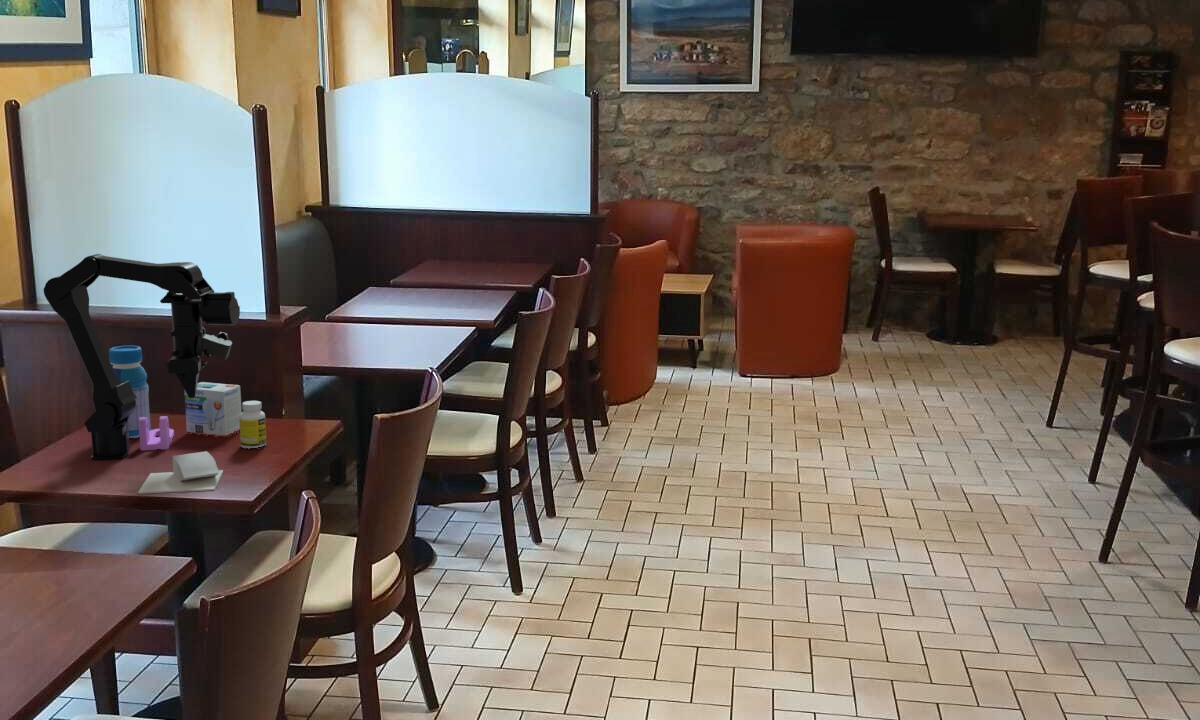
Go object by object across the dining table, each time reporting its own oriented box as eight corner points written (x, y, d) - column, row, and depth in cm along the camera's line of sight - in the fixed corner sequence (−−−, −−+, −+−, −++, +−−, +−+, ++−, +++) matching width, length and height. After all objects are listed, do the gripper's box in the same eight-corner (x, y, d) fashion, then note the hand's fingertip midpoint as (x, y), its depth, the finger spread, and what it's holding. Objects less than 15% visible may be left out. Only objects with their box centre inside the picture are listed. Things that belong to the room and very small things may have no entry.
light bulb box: (185, 433, 260) (182, 387, 258) (204, 426, 267) (201, 381, 264) (226, 438, 257) (223, 391, 255) (244, 430, 264) (241, 384, 261)
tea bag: (172, 456, 230) (183, 469, 221) (206, 451, 233) (219, 464, 225) (173, 473, 230) (184, 487, 222) (207, 468, 234) (220, 481, 226)
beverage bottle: (143, 440, 255) (136, 352, 250) (105, 439, 255) (97, 351, 250) (157, 429, 263) (151, 344, 259) (120, 429, 263) (114, 344, 259)
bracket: (167, 449, 248) (165, 418, 247) (140, 451, 247) (138, 419, 246) (175, 433, 261) (173, 404, 259) (149, 434, 259) (147, 405, 258)
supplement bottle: (262, 449, 248) (260, 405, 246) (237, 449, 248) (235, 405, 246) (269, 442, 254) (267, 399, 252) (245, 442, 254) (242, 399, 252)
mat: (138, 493, 219) (137, 492, 219) (150, 474, 231) (150, 473, 231) (214, 490, 222) (214, 488, 221) (223, 471, 233) (223, 470, 233)
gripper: (221, 331, 229) (226, 407, 232) (233, 315, 247) (238, 386, 250) (162, 333, 227) (168, 409, 230) (179, 316, 245) (184, 387, 248)
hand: (192, 397), depth 240 cm, fingers closed
